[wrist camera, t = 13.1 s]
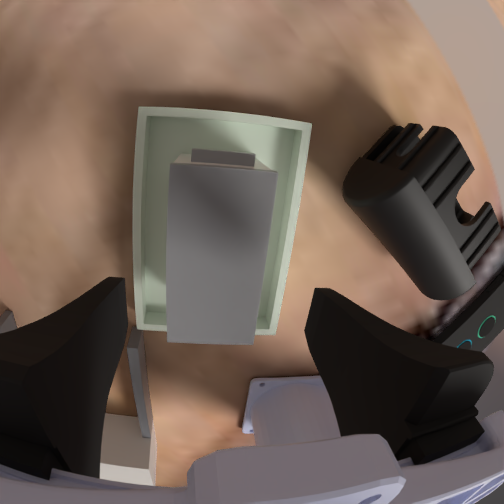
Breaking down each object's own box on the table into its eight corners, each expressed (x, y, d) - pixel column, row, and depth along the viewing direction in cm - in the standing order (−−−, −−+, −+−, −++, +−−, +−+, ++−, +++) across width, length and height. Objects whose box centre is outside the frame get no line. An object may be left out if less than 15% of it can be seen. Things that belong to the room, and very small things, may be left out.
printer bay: (142, 327, 23) (130, 384, 17) (157, 444, 29) (154, 491, 23) (5, 310, 20) (-28, 353, 15) (51, 428, 26) (39, 469, 21)
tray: (301, 123, 18) (312, 123, 17) (270, 319, 24) (275, 335, 22) (145, 108, 17) (138, 106, 15) (141, 313, 22) (136, 329, 20)
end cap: (323, 187, 20) (371, 218, 14) (390, 116, 19) (455, 122, 13) (399, 272, 24) (447, 317, 18) (453, 211, 23) (510, 241, 16)
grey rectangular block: (259, 149, 18) (280, 160, 13) (241, 293, 22) (253, 344, 17) (181, 143, 18) (170, 151, 13) (174, 290, 21) (167, 342, 16)
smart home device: (411, 370, 27) (535, 243, 24) (403, 359, 29) (525, 237, 26) (430, 398, 30) (539, 288, 27) (424, 389, 32) (530, 282, 29)
